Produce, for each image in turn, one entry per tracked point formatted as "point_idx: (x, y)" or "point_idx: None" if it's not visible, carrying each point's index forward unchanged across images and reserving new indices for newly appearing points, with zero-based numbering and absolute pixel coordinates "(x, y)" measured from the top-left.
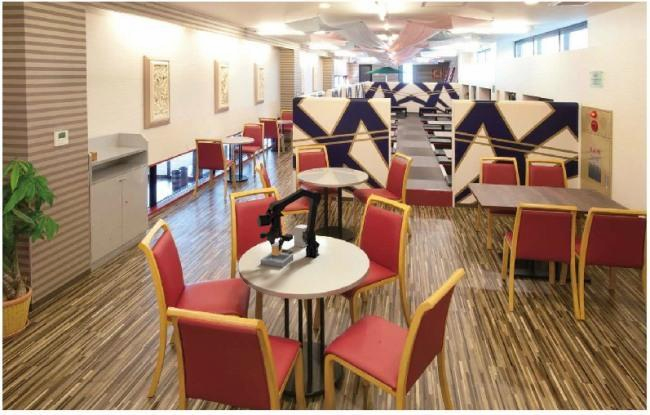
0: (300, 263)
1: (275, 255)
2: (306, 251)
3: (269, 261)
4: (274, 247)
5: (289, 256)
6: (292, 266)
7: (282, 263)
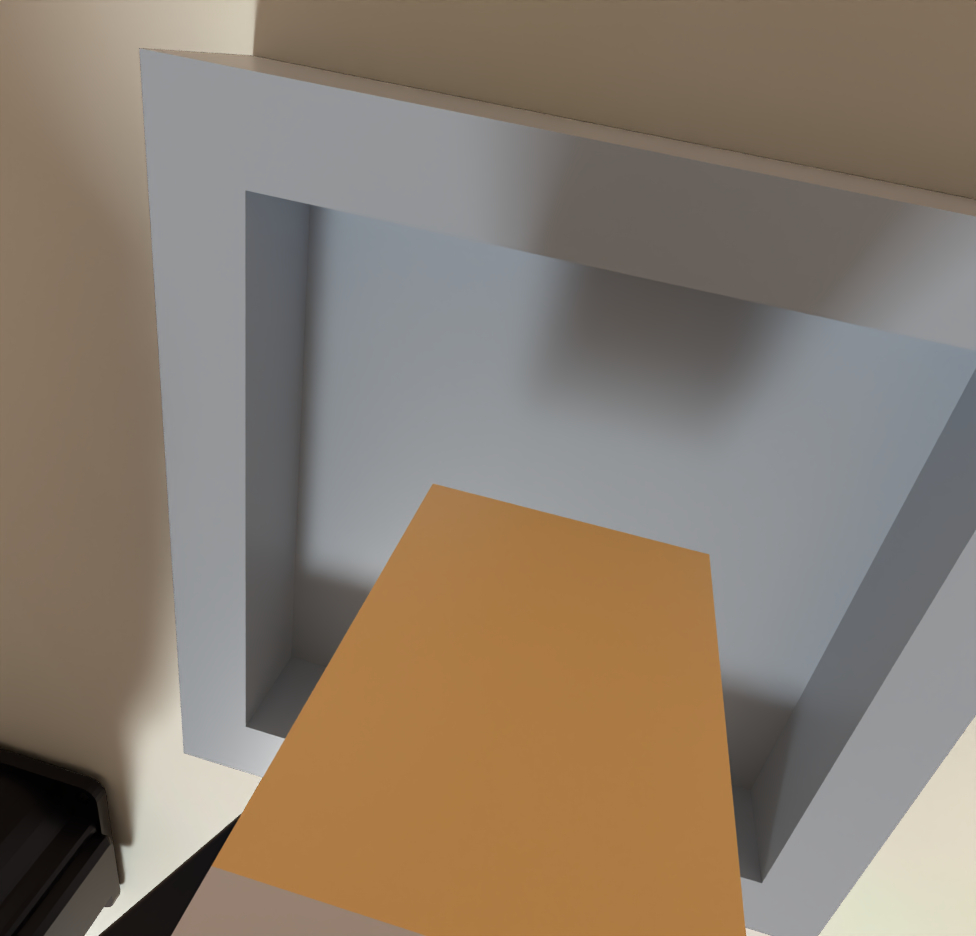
0: (2, 466)
1: (524, 509)
2: (49, 897)
3: (763, 169)
4: (473, 888)
5: (215, 660)
6: (55, 240)
7: (159, 49)
